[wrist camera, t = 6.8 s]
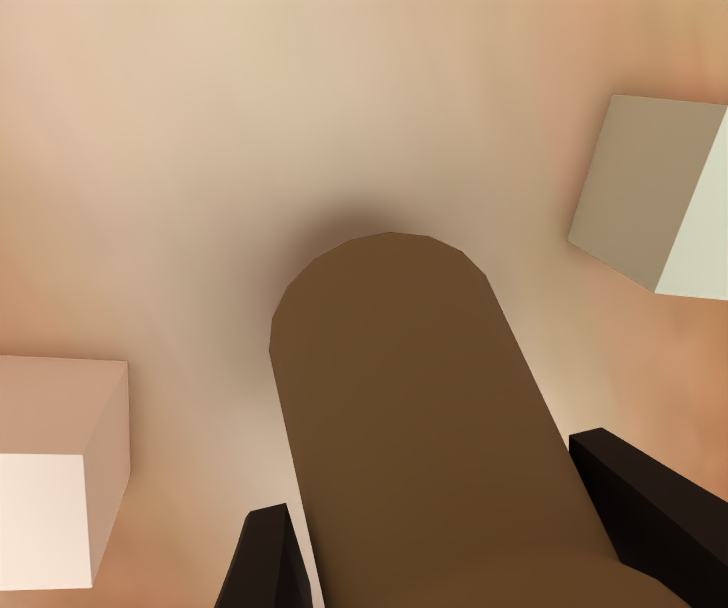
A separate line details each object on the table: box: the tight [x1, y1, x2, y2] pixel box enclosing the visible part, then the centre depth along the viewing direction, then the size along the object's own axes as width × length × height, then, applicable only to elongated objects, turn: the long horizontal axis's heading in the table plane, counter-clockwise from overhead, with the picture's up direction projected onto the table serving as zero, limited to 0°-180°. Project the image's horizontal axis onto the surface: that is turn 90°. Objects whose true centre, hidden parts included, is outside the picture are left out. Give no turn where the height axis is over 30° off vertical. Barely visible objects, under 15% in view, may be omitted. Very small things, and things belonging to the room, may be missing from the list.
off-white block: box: [0, 355, 131, 591], centre depth 17 cm, size 5×5×5 cm
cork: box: [269, 232, 692, 608], centre depth 9 cm, size 6×6×11 cm
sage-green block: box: [567, 94, 728, 300], centre depth 17 cm, size 5×5×5 cm
